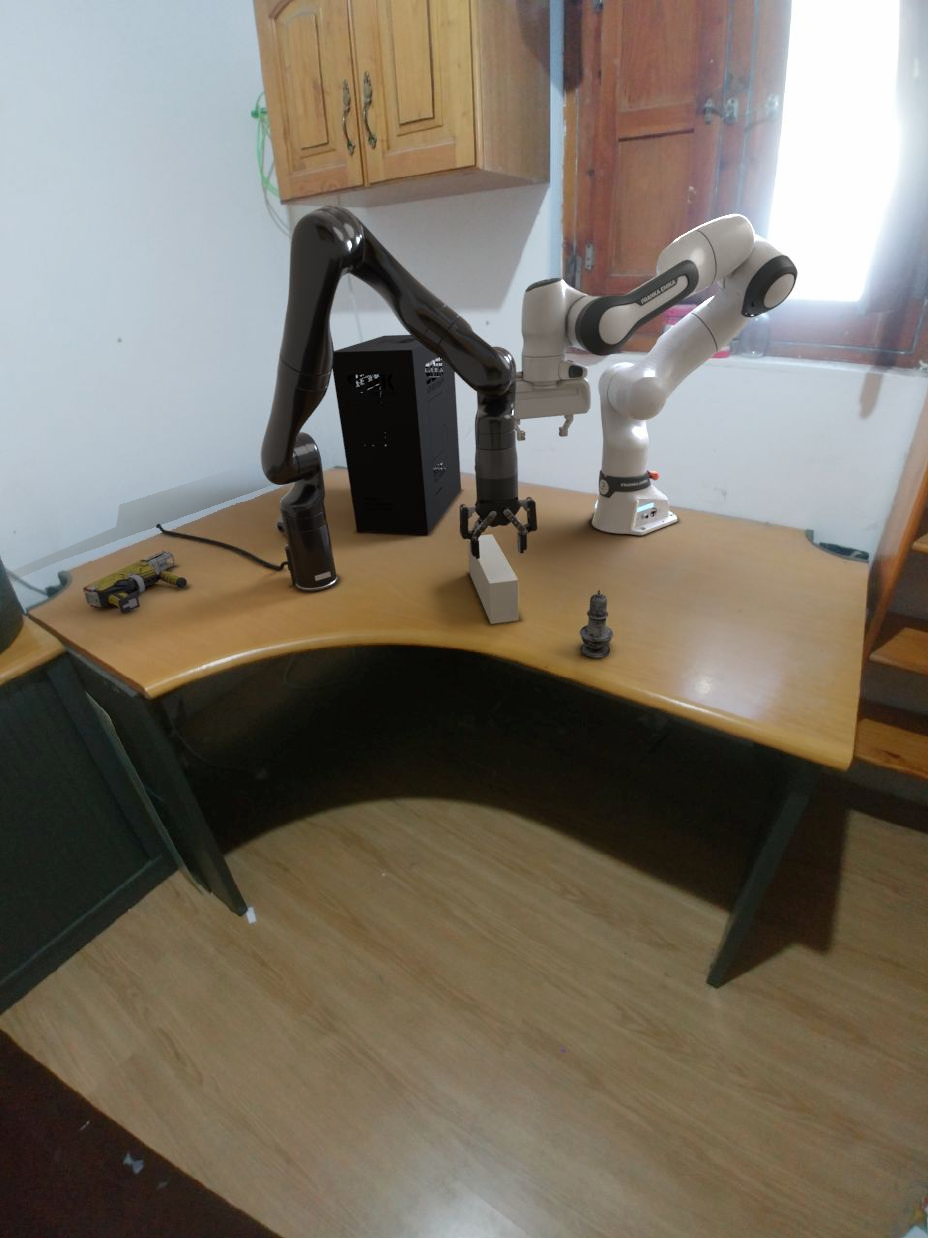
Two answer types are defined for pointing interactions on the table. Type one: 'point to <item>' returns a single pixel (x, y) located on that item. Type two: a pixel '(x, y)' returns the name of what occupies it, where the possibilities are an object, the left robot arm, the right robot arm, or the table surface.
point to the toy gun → (131, 583)
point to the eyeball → (280, 524)
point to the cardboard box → (398, 433)
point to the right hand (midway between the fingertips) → (542, 438)
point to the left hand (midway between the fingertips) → (499, 554)
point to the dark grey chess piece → (596, 628)
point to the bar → (494, 581)
